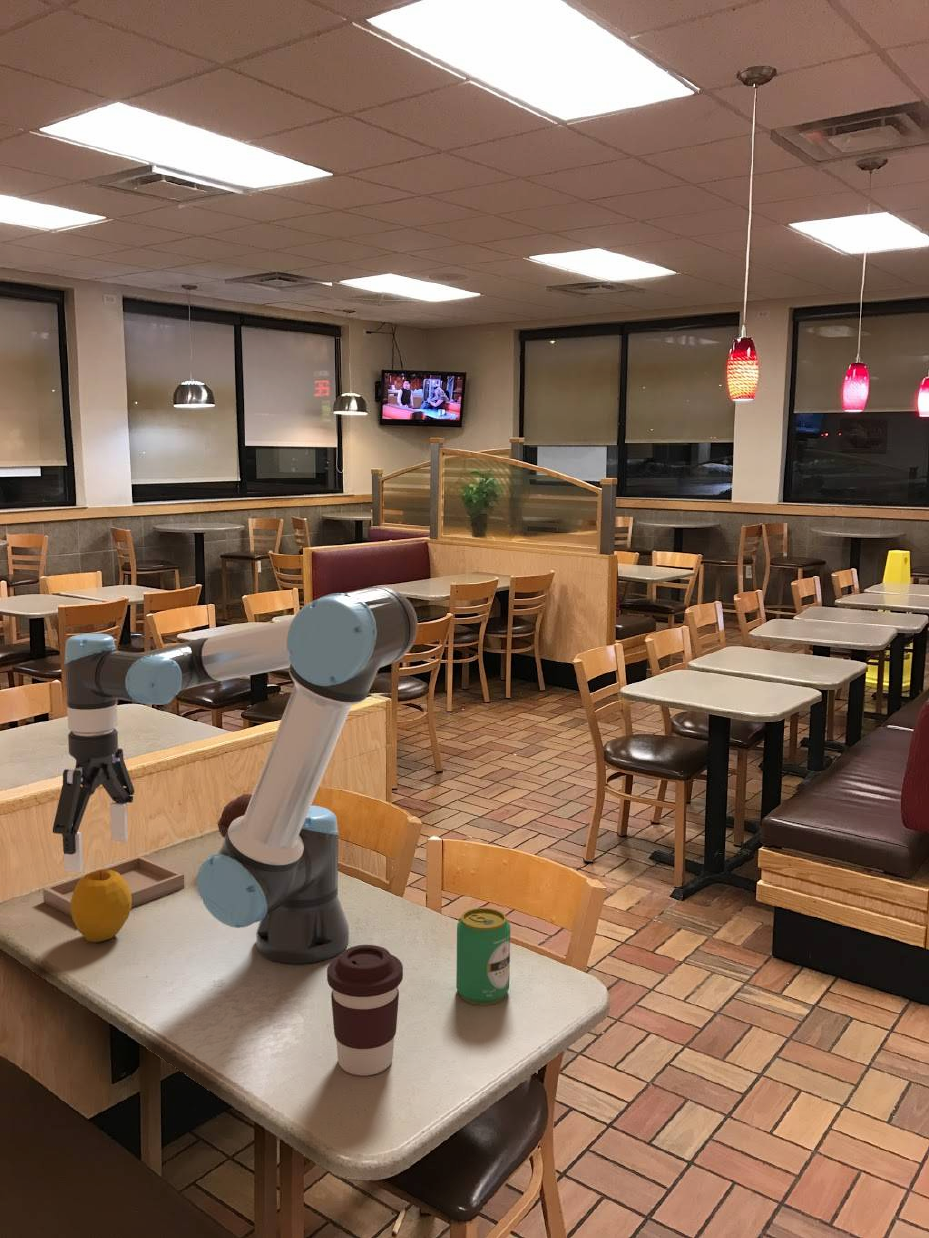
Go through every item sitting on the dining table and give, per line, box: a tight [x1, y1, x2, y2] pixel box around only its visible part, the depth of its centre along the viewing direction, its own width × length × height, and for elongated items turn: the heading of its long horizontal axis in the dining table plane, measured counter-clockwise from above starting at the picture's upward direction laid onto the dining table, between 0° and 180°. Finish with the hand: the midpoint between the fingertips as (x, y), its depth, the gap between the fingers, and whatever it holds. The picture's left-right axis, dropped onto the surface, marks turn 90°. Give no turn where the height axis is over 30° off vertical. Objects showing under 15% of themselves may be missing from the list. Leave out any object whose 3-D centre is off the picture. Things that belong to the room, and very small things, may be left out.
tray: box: [42, 855, 185, 918], centre depth 186 cm, size 20×14×3 cm
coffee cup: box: [326, 944, 404, 1077], centre depth 134 cm, size 10×10×15 cm
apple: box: [70, 869, 132, 943], centre depth 168 cm, size 10×10×12 cm
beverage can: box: [455, 907, 511, 1006], centre depth 152 cm, size 8×8×12 cm
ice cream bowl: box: [217, 793, 253, 839], centre depth 199 cm, size 11×11×15 cm
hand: (97, 855), depth 167 cm, fingers open, 13 cm apart
